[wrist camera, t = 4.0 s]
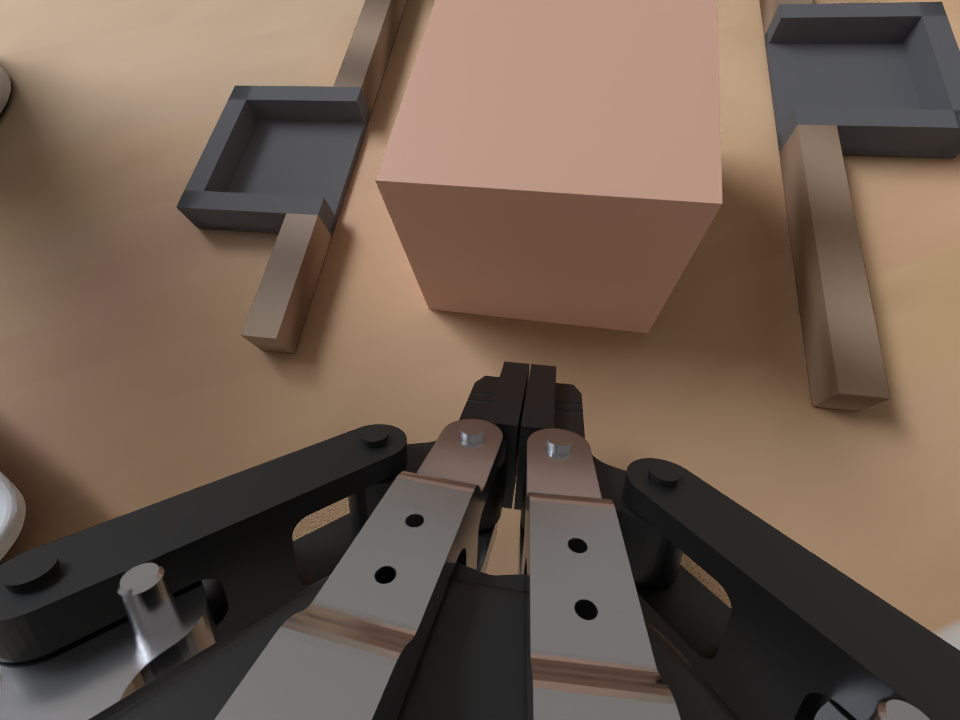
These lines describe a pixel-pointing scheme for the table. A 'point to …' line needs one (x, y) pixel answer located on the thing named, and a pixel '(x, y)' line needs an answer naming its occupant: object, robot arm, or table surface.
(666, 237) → the terracotta block
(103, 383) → the table surface
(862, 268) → the walnut lane
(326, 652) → the robot arm
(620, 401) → the table surface
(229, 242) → the table surface
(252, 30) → the table surface
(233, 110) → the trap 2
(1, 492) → the salad plate
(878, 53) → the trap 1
